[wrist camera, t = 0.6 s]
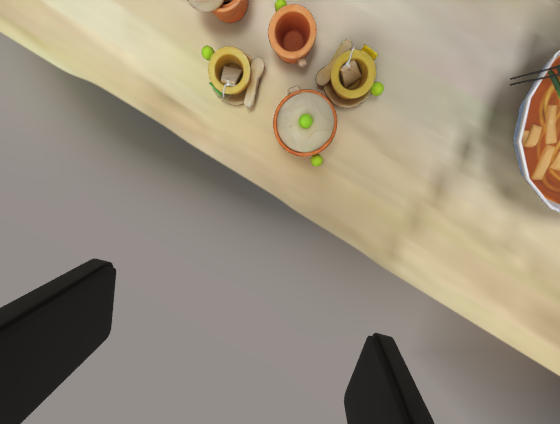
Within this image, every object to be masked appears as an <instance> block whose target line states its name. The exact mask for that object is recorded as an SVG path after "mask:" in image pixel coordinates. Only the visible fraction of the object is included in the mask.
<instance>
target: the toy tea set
mask: <svg viewBox="0 0 560 424" xmlns="http://www.w3.org/2000/svg"><path fill="white" fill-rule="evenodd" d="M187 1H188V2H189V3H190V5H191V6H192V7H193V8H195V9H196V10H198V11H201V12H212V13H214V14H215V15H216V16H217V17H218V18H219V19H220V20H222V21H223V22H226V23H235V22H237V21H239V20H240V19H241V18H242V17H243V16H244V15H245V13H246V10H247V5H248V0H187ZM275 10H276V13H275V14H274V15H273V17H272V19H271V21H270V24H269V29H268V36H269V41H270V44H271V46H272V48H273V49H274V51H275V52H276V53H277V55H278V56H279V57H280V58H281V59H282V60H283V61H285V62H287V63H291V64H294V63H298V64H299V66H300V67H301V68H303V67H305V66H306V64H307V62H306V60H305V57H306V56H307V55H308V53H309V51H310V50H311V48H312V46H313V44H314V42H315V38H316V31H317V29H316V23H315V20H314V18H313V16H312V14H311V13H310V12H309V11H308V10H307V9H306V8H305V7H303V6H301V5H297V4H290V5H287V3H286V1H285V0H277V1H276V3H275ZM351 47H352V42H351V41H350V40H345V41H343V42H342V44H341V45H340V46H339V48H338V50H337V51H336V53H335V55H334V56H333V58H332V60H331V61H330V63H329V64H328V65H327V66H326V67H324V68H322V69H321V70H320V71H319V72H318V74H317V76H316V82H317V84H318V85H320V86H324V90H325V93H326V95H327V97H328V98H327V97H325V96H324V95H323V94H321V93H319V92H317V91H314V90H300V87H299V86H294V87H292V88H290V89H288V94H289V95H288V96H286V97H285V98H284V99H283V100H282V101H281V103H280V104H279V105H278V107H277V109H276V112H275V115H274V120H273V128H274V133H275V136H276V138H277V140H278V142H279V144H280V145H281V146H282V147H283V148H284V149H285V150H286V151H288V152H289V153H291V154H294V155H297V156H312V157H311V163H312V165H314V166H320V165H321V164H322V162H323V158H322V156H321V155H319V154H318V153H319V152H321V151H322V150H324V149H325V148H326V147H327V146H328V145H329V144H330V143H331V141H332V139H333V138H334V135H335V133H336V128H337V115H336V111H335V109H334V107H333V105H332V103H333V104H335V105H337V106H339V107H343V108H350V107H354V106H357V105H359V104H361V103H362V102H364V101H365V100H366V99H367V98H368V96H369V95H370V94H371V93H372V94H373V95H375V96H378V95H380V94H381V93H382V92H383V90H384V86H383V84H382V83H381V82H376V83H375V78H376V66H375V63H374V60H375V59H376V57H377V56H378V54H377V53H375V52H374V51H373V50H372V49H370V48H369V47H368V46H366V45H365V44H364V46H363V48H362V49H361V50H357V49H356V47H354V48H353V49H352V50H351ZM202 55H203V57H204V58H205V59H207V60H210V61H209V65H208V74H209V78H210V80H211V83H209V84H210V85H211V86H212V87H213V90H214V92H215V93H216V95H217V96H218V97H219V98H220V99H221V100H223V101H224V102H226V103H229V104H233V105H239V104H243V103H244V105H245V106H246V107H248V108H251V107H252V106H253V104H254V101H255V96H256V91H257V89H258V86H259V80H260V76H261V75H262V74H263V72H264V68H265V65H264V61H263V60H262V59H261V58H259V57H257V58H255V59H254V60H253V59H252V58H251V57H250V56H249V55H247V54H246V53H244V52H242V51H241V50H239V49H237V48H235V47H230V46H226V47H222V48H220V49H218V50H217V51H216V52H214V50H213V49H212V47H210V46H205V47H203V49H202ZM329 100H330V101H331V102H332V103H331V102H330V101H329Z"/></svg>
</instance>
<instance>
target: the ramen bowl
mask: <svg viewBox="0 0 560 424" xmlns="http://www.w3.org/2000/svg"><path fill="white" fill-rule="evenodd" d="M540 72H541V73H540ZM536 73H540V74H539V76H538V77H537V78H536V79H531V80H527V81H522V82H518V83H513V84H510V85H515V84H520V83H526V82H531V81H535V82H534V84H533V86H532V87H531V89H530V91H529V92H528V94H527V96H526V97H525V99H524V100H523V102H522V104H521V105H520V109H519V114H518V118H517V123H516V128H515V132H514V137H513V142H514V147H515V151H516V156H517V160H518V165H519V169H520V172H521V174H522V176H523V177H524V178H525V179H526V181H527V182H528V183H529V184H530V186H531V187H532V188H533V189H534V191H535V192H536V193H537V194H538V196H539V197H540V198H541V199H542V200H543V202H544V203H545V204H546V205H547V206H548V207H549V208H551V209H553V210H555V211H558V212H560V50H559V51H558V52H557V53H555V54H554V56H553V57H552V58H551V59H550V60H549V61H548V62H547V63H546V65H545V66H544V68H543V69H542V70H540V71H536V72H532V73H529V74H525V75H521V76H518V77H514V78H510V80H512V79H516V78H520V77H524V76H528V75H532V74H536Z"/></svg>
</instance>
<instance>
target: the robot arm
mask: <svg viewBox="0 0 560 424" xmlns="http://www.w3.org/2000/svg"><path fill="white" fill-rule="evenodd" d="M115 279H116V269H115V268H113V265H112V263H111V262H107V261H103V260H99V259H92V260H90V261H88V262H86V263H84V264H82V265H80V266H78V267H76V268H74V269H72V270H71V271H69V272H67V273H65V274H63V275H61V276H59V277H57V278H56V279H54V280H52V281H50V282H48V283H46V284H44V285H43V286H41V287H39V288H37V289H35V290H33V291H31V292H29V293H28V294H26V295H24V296H22V297H20V298H18V299H16V300H14V301H12V302H11V303H9V304H7V305H5V306H3V307H1V308H0V424H21V423H22V422H23V420H25V419H26V417H28V415H30V414H31V413H32V412H33V411H34V410H35V409H36V408H37V407H38V406H39V405H40V404H41V403H42V402H43V401H44V400H45V399H46V398H47V397H48V396H49V395H50V394H51V393H52V392H53V391H54V390H55V389H56V388H57V387H58V386H59V385H60V384H61V383H62V382H63V381H64V380H65V379H66V378H67V377H68V376H69V375H70V374H71V373H72V372H73V371H74V370H75V369H76V368H77V367H79V366H80V365H81V364H82V363H83V362H84V361H85V360H86V358H88V357H89V356H90V355H91V354H92V353H93V352H94V351H95V350H96V349H97V348H98V347H99V346H100V345H101V344H102V343H103V342H104V341H105V340H106V339H107V337H108V336H109V334H110V331H111V324H112V313H113V301H114V290H115ZM344 405H345V411H346V417H347V423H348V424H434V422H433V420H432V417H431V415H430V413H429V411H428V409H427V407H426V405H425V403H424V401H423V399H422V397H421V395H420V393H419V391H418V389H417V387H416V385H415V382H414V380H413V378H412V376H411V374H410V372H409V370H408V368H407V366H406V364H405V362H404V360H403V358H402V356H401V354H400V352H399V349H398V347H397V345H396V343H395V341H394V339H393V338H392V337H390V336H386V335H382V334H378V333H374V334H373V336H368V337H367V339H366V342H365V344H364V347H363V349H362V352H361V355H360V357H359V359H358V362H357V365H356V367H355V370H354V372H353V374H352V377H351V380H350V382H349V385H348V387H347V390H346V393H345V397H344Z"/></svg>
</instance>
